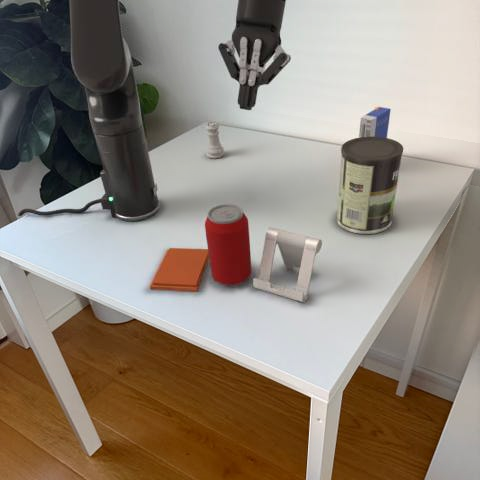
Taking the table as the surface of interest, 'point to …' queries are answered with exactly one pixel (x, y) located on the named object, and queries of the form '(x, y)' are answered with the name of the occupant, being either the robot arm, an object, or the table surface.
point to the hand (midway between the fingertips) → (245, 109)
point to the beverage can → (228, 244)
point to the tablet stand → (288, 261)
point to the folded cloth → (181, 270)
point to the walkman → (375, 123)
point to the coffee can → (368, 184)
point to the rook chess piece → (214, 141)
